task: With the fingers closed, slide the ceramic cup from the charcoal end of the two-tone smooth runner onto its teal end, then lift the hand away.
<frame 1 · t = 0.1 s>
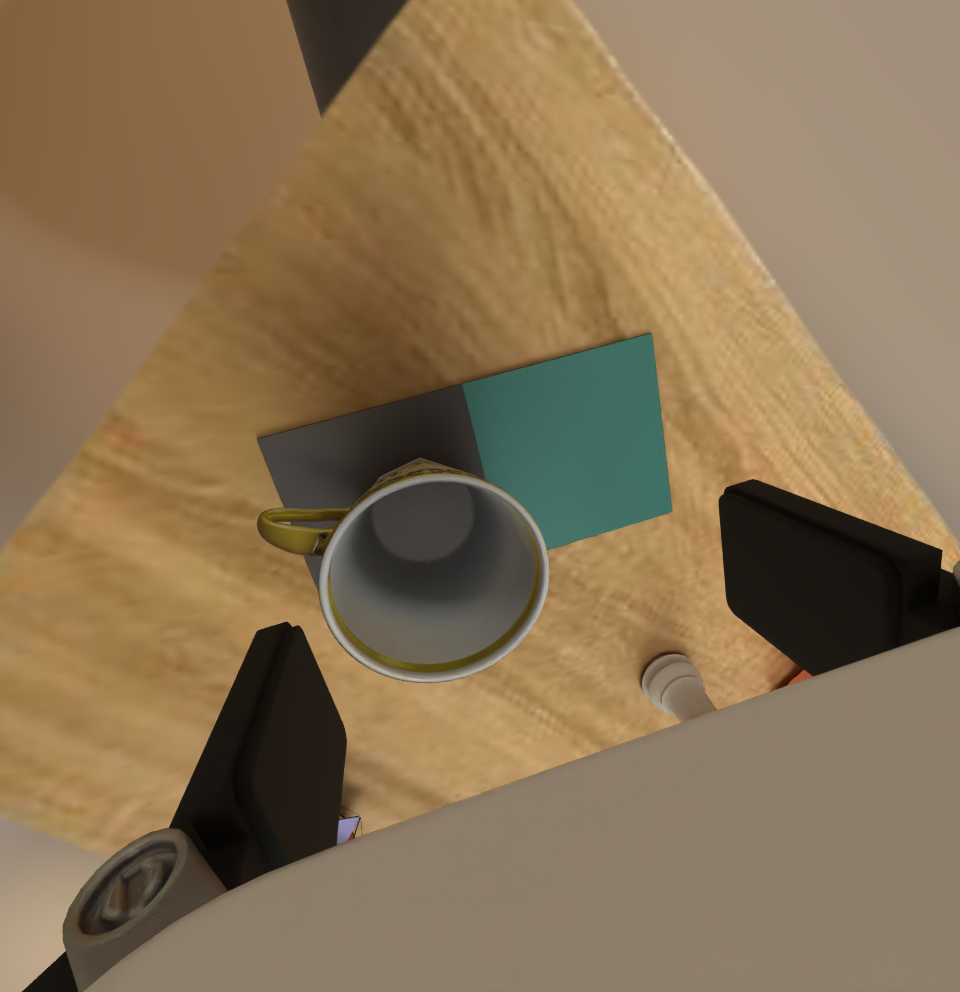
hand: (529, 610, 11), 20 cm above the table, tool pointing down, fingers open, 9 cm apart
geometric puzzle: (319, 812, 37), on the table
ceramic cup: (399, 503, 30), resting on runner
runner: (485, 478, 31), on the table
rook chess piece: (664, 673, 39), on the table
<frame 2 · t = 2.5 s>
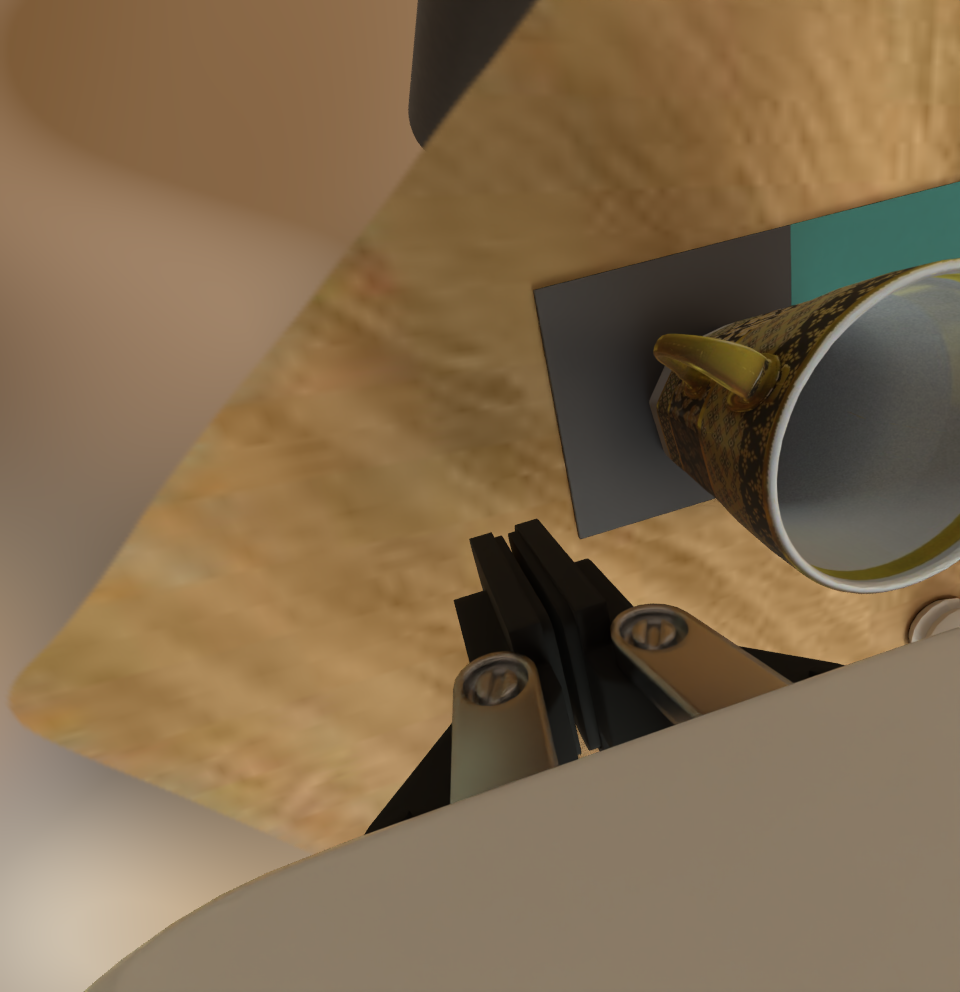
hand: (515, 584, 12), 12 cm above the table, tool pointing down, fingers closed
ceramic cup: (685, 389, 24), resting on runner
runner: (789, 360, 24), on the table
rook chess piece: (931, 623, 32), on the table
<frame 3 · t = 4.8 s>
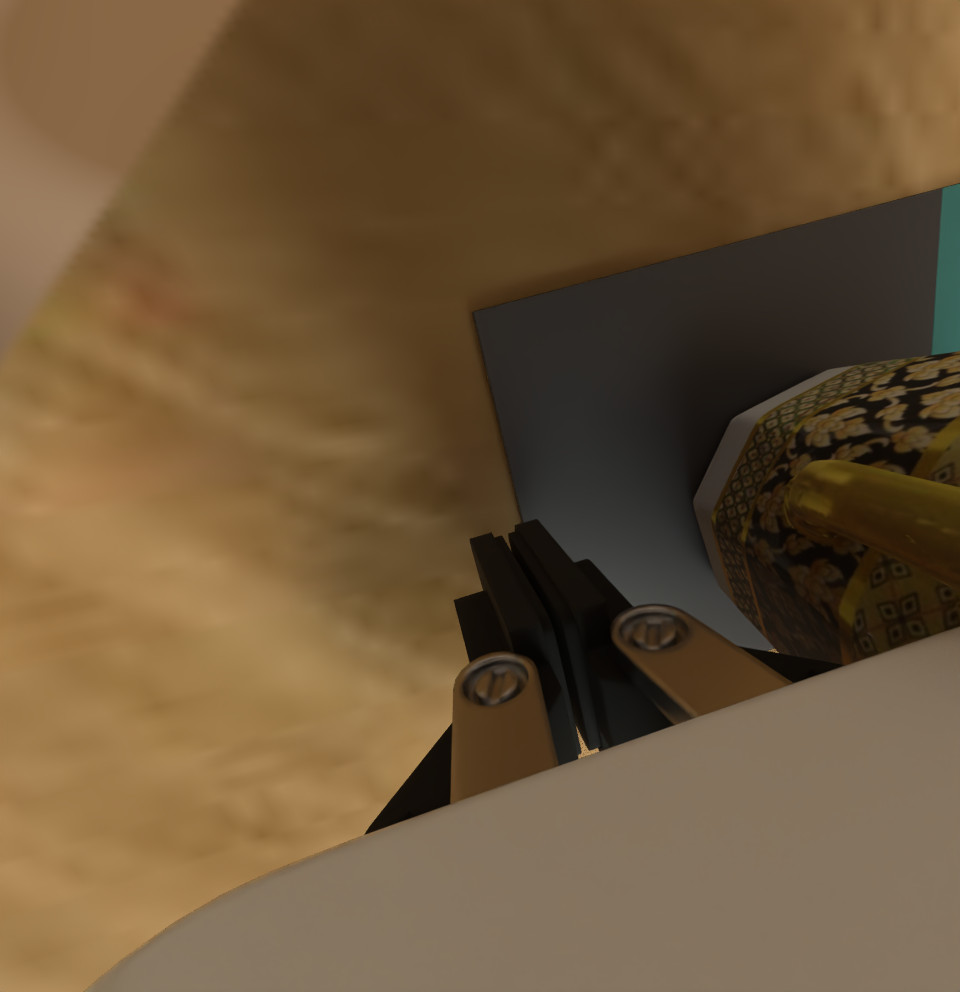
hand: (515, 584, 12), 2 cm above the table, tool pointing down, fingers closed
ceramic cup: (753, 477, 14), resting on runner, touching gripper
runner: (919, 422, 14), on the table
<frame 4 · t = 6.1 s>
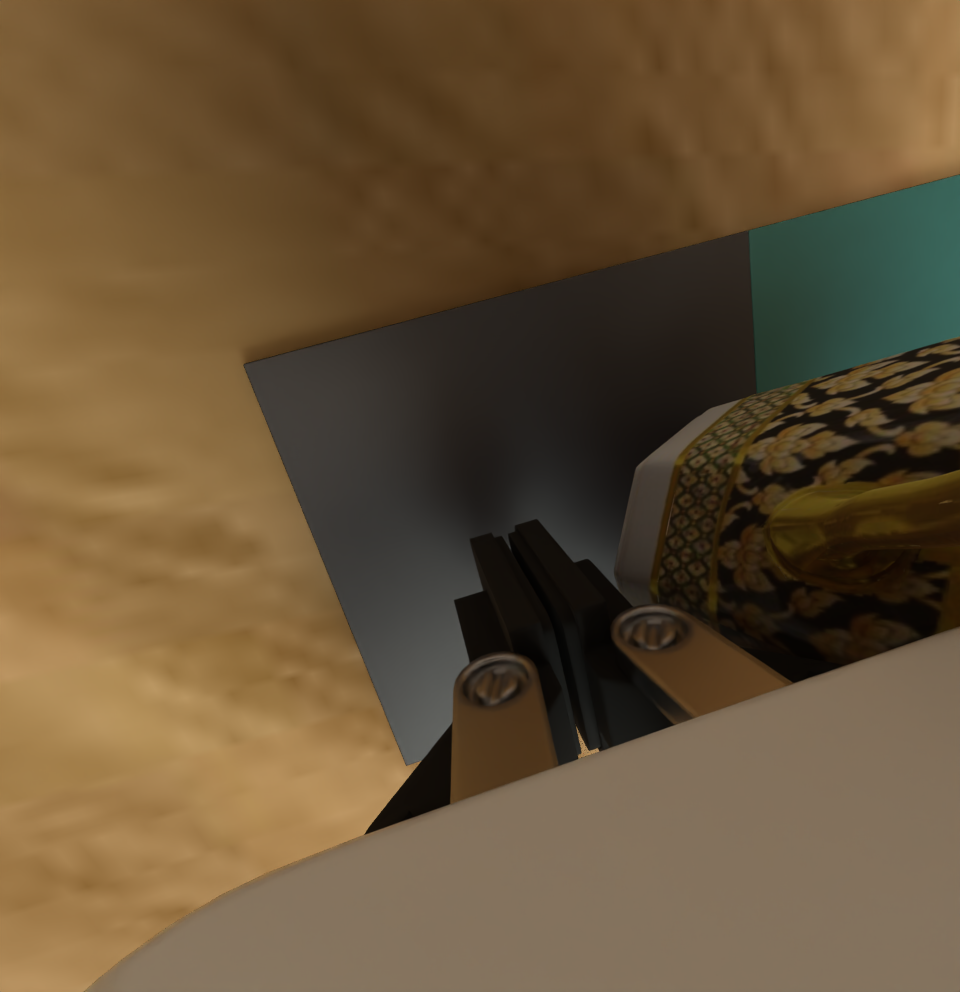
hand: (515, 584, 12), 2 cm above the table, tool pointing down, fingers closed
ceramic cup: (662, 534, 12), point 2 cm above the table, touching gripper, runner
runner: (755, 464, 14), on the table
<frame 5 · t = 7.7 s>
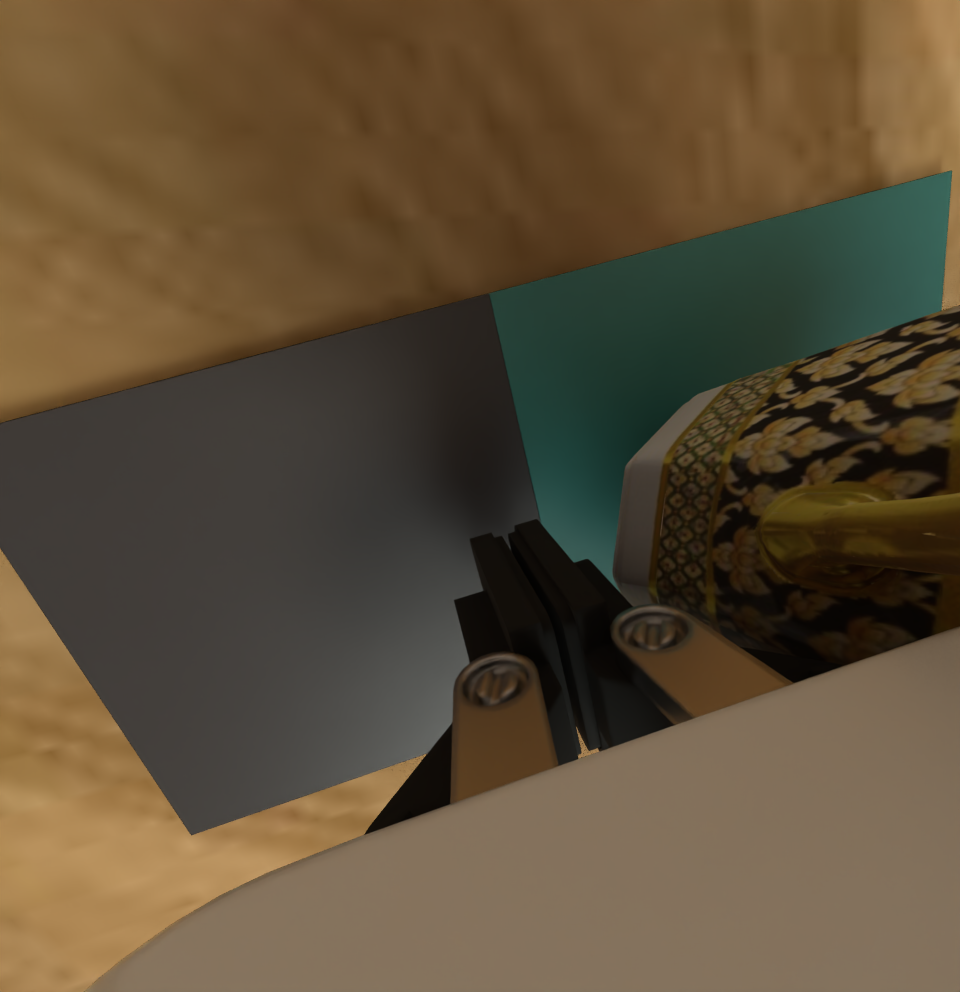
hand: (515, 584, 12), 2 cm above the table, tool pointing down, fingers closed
ceramic cup: (658, 527, 12), point 2 cm above the table, touching gripper, runner
runner: (540, 526, 13), on the table
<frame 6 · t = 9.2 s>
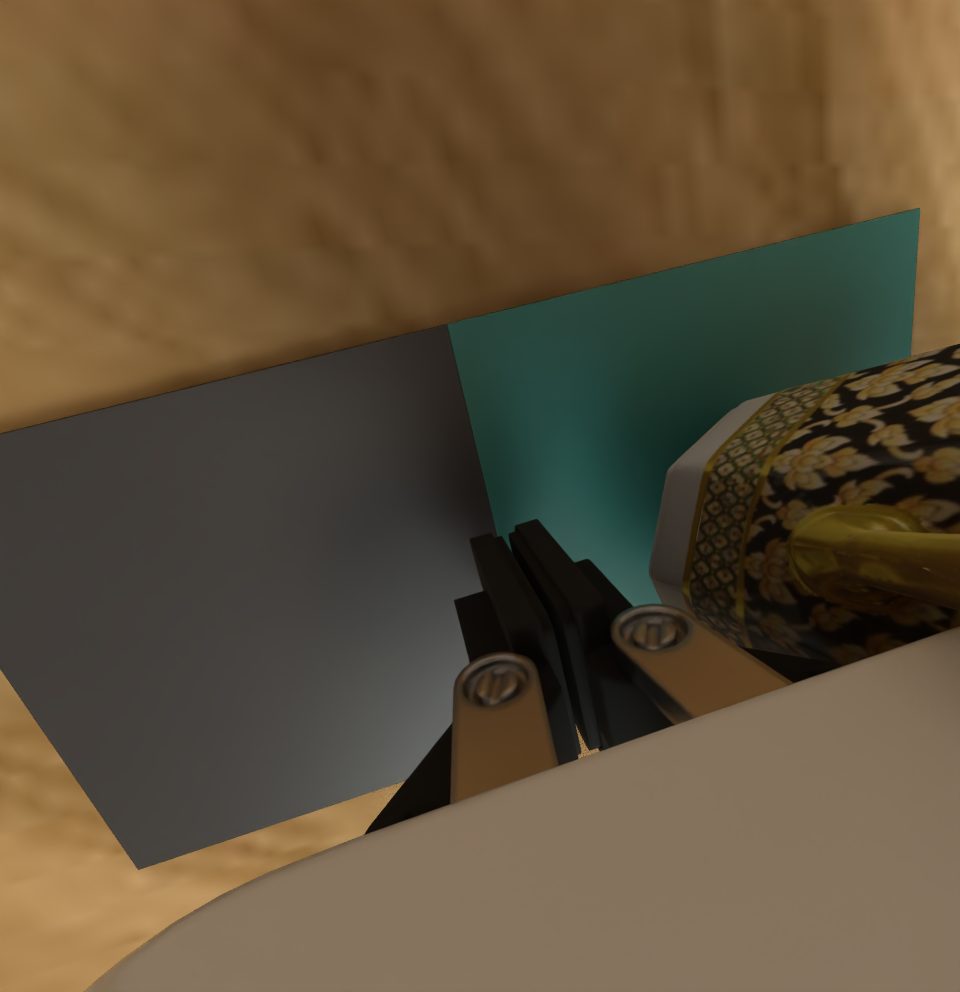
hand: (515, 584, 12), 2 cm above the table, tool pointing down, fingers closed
ceramic cup: (697, 529, 12), point 2 cm above the table, touching runner
runner: (501, 557, 13), on the table
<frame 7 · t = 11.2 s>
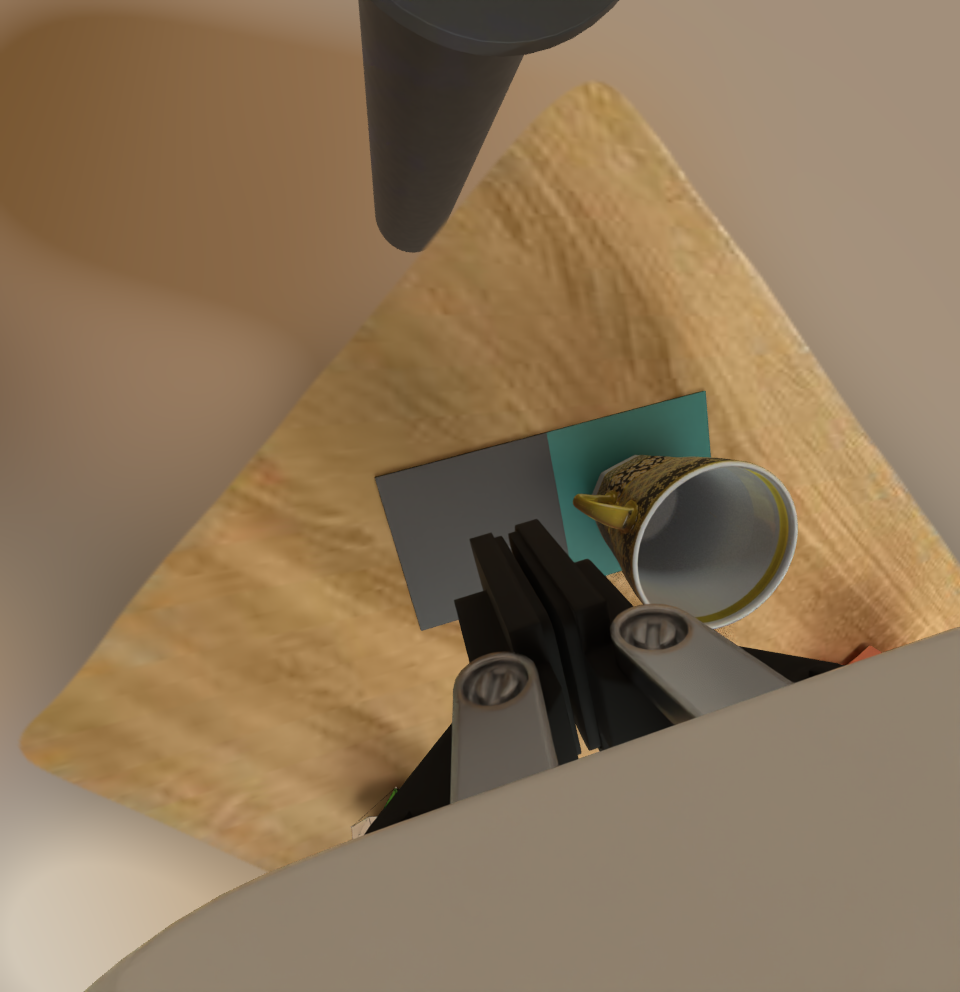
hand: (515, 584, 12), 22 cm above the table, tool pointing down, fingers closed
geometric puzzle: (398, 807, 41), on the table
ceramic cup: (613, 493, 36), resting on runner
runner: (560, 512, 36), on the table
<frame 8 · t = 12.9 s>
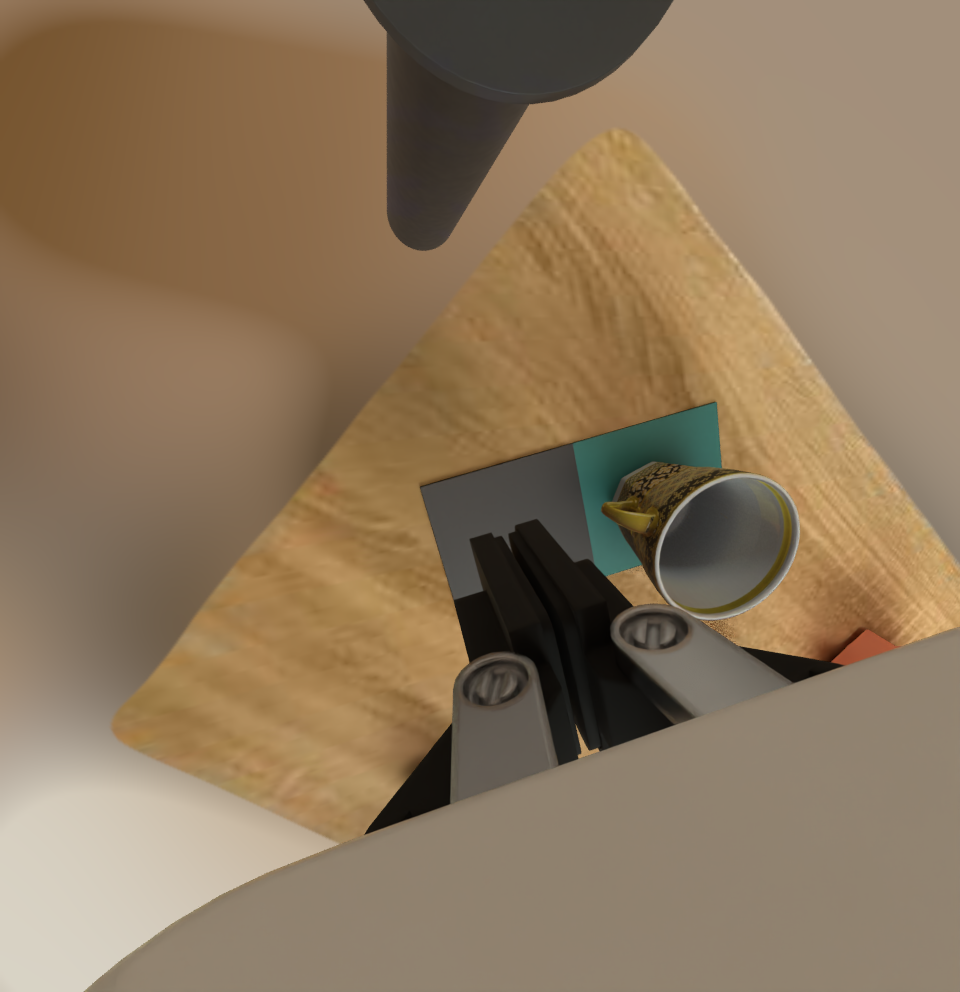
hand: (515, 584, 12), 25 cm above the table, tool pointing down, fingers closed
teapot: (844, 671, 51), on the table
ceramic cup: (632, 496, 40), resting on runner
runner: (584, 513, 40), on the table
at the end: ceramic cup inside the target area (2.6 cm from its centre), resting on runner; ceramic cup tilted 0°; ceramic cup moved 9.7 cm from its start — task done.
